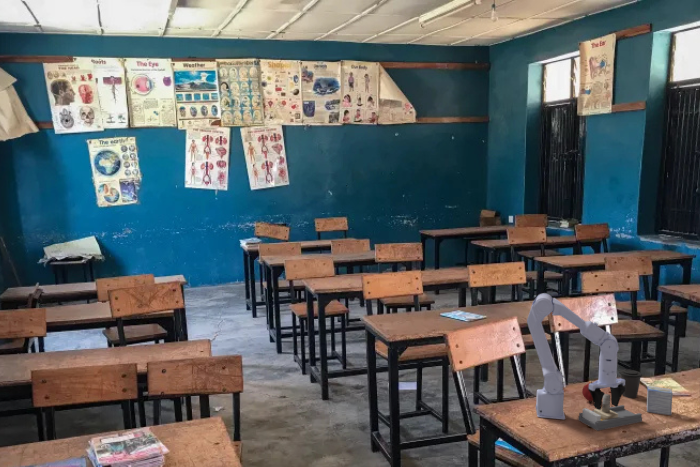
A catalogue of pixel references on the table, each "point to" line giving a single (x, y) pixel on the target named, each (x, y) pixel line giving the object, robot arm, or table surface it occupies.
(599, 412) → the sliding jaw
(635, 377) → the coffee cup
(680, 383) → the table surface
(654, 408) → the medicine box
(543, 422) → the table surface
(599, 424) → the rail base
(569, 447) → the table surface
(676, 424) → the table surface
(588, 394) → the onion
